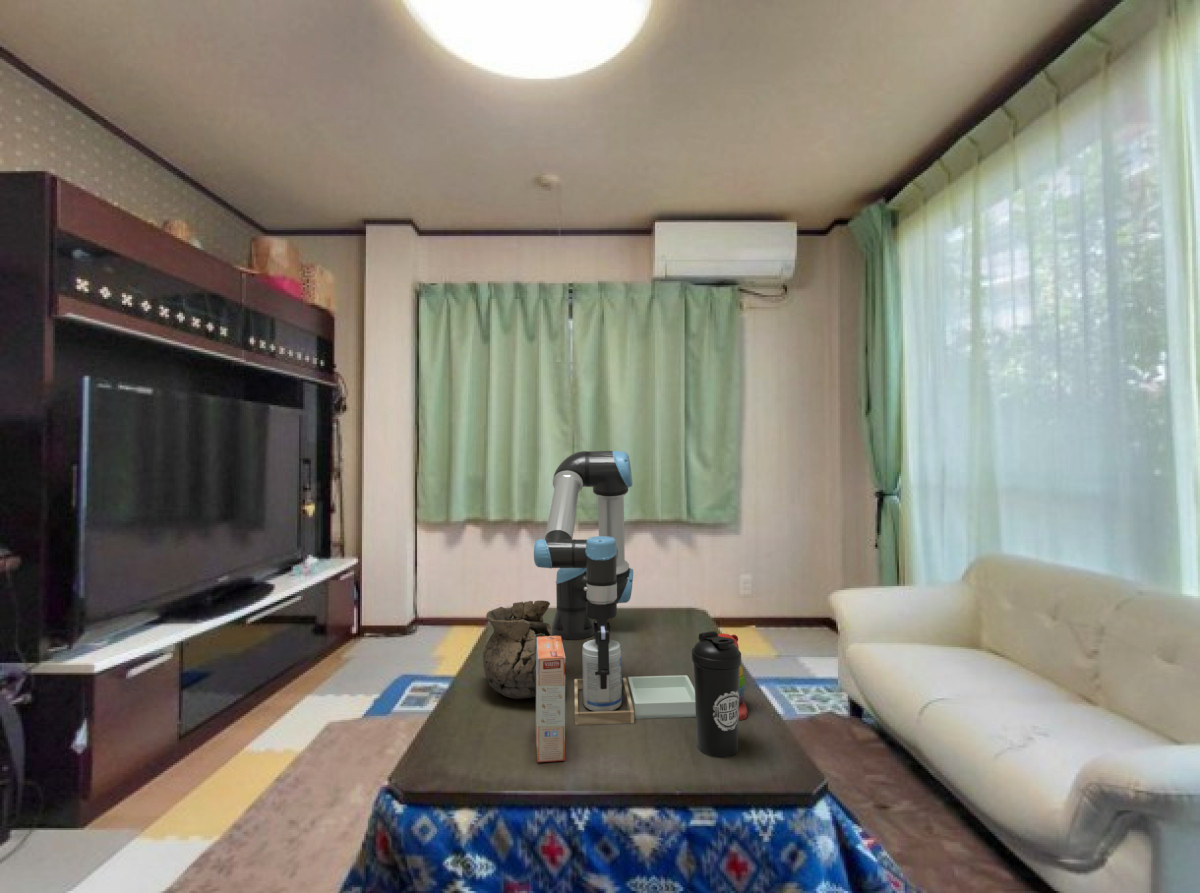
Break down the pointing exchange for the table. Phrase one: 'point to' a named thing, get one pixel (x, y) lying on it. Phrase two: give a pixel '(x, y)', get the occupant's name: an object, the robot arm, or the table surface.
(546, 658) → the cracker box
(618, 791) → the table surface
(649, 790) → the table surface
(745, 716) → the stacking bear
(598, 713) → the oak frame
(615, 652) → the supplement tub
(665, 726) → the table surface
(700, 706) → the water bottle
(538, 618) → the clay pot
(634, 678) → the pale mint square tray
